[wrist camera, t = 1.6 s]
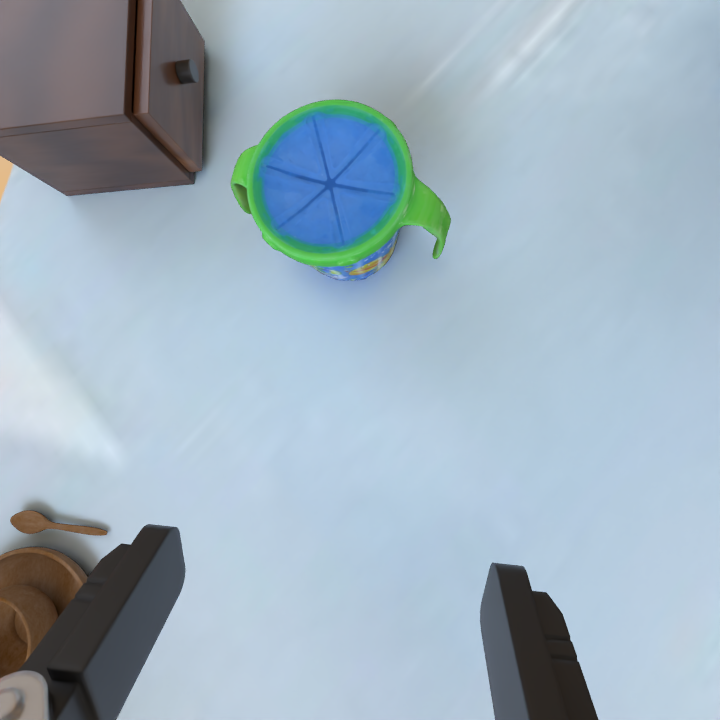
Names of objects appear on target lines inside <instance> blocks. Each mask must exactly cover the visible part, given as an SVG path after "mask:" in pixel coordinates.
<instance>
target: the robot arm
mask: <svg viewBox="0 0 720 720" xmlns="http://www.w3.org/2000/svg"><path fill="white" fill-rule="evenodd" d="M184 578H185V563H184V557H183V551H182V544H181V538H180V532H179V529H178V528H177V527H170V526H161V525H152V524H148V525H146V526H144V527H143V528H142V530H141V531H140V532H139V534H138V535H137V537H136V538H135V540H134V541H133V542H132V544H131V545H129V544H120V545H119V546H118V547H117V548H115V549H114V550H113V551H111V552H110V553H109V554H108V555H106V556H105V557H104V558H102V559H101V560H100V562H99V563H98V564H97V566H96V567H95V569H94V570H93V571H92V573H91V574H90V575H89V577H88V578H87V581H86V583H83V585H82V586H81V587H80V589H79V590H78V592H77V593H76V594H75V598H74V599H72V600H71V601H70V602H69V604H68V605H67V606H66V608H65V609H64V610H63V612H62V613H61V615H60V616H59V617H58V619H57V620H56V621H55V623H54V624H53V625H52V627H51V628H50V629H49V631H48V632H47V633H46V635H45V636H44V638H43V639H42V640H41V642H40V643H39V644H38V646H37V647H36V648H35V650H34V651H33V652H32V654H31V655H30V656H29V658H28V659H27V660H26V662H25V663H24V664H23V665H22V667H21V668H20V669H19V670H18V671H17V672H14V673H11V674H9V675H6V676H4V677H2V678H0V720H116V719H117V717H118V715H119V713H120V711H121V709H122V707H123V705H124V703H125V701H126V699H127V697H128V695H129V693H130V691H131V689H132V687H133V685H134V683H135V681H136V679H137V677H138V675H139V673H140V671H141V669H142V668H143V666H144V664H145V662H146V660H147V658H148V656H149V654H150V652H151V650H152V648H153V646H154V644H155V642H156V640H157V638H158V636H159V634H160V632H161V630H162V628H163V626H164V624H165V622H166V620H167V618H168V616H169V614H170V612H171V610H172V608H173V606H174V604H175V602H176V600H177V598H178V596H179V594H180V592H181V589H182V586H183V583H184ZM480 623H481V633H482V639H483V645H484V652H485V658H486V664H487V671H488V677H489V683H490V690H491V696H492V702H493V708H494V715H495V720H598V717H597V714H596V711H595V708H594V706H593V703H592V700H591V697H590V694H589V691H588V688H587V685H586V682H585V679H584V676H583V673H582V670H581V667H580V664H579V662H577V655H576V652H575V649H574V647H573V644H572V642H571V641H570V635H569V632H568V629H567V626H566V623H565V620H564V617H563V614H562V613H561V611H560V610H559V608H558V607H557V606H556V604H555V603H554V602H553V600H552V599H551V598H550V596H549V595H548V594H547V593H546V592H537V591H532V589H531V586H530V582H529V579H528V575H527V572H526V570H525V568H524V567H523V566H518V565H508V564H499V563H492V564H491V566H490V569H489V573H488V578H487V582H486V586H485V590H484V594H483V598H482V602H481V611H480Z"/></svg>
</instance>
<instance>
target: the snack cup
mask: <svg viewBox="0 0 720 720" xmlns="http://www.w3.org/2000/svg"><path fill="white" fill-rule="evenodd" d="M231 188H232V190H233V193H234V195H235V198H236V199H237V201H238V203H239V205H240V207H241V208H242V209H243V210H244V211H245V212H246V213H248V214H252V216H253V218H254V220H255V222H256V224H257V225H258V227H259V228H260V230H261V231H262V237H263V239H264V240H265V241H266V242H267V243H268V244H269V245H270V246H271V247H272V248H273V249H275V250H278V251H280V252H282V253H283V254H285V255H287V256H288V257H290V258H292V259H294V260H296V261H298V262H301V263H304V264H307V265H310V266H311V267H313V268H315V269H316V270H318V271H319V272H321V273H322V274H324V275H327V276H329V277H331V278H334V279H337V280H361V279H366V278H367V277H368V276H370V275H372V274H374V273H375V272H377V271H378V270H379V269H381V268H382V267H383V266H384V265H385V264H386V263H387V261H388V260H389V258H390V257H391V255H392V253H393V251H394V247H395V245H396V241H397V237H398V234H399V230H400V228H401V227H402V226H405V225H417V226H422V227H423V228H425V229H426V230H427V231H428V232H429V233H431V234H432V235H434V236H435V237H436V238H437V240H436V243H435V247H434V250H433V258H434V259H437V258H438V257H439V256H440V254H441V253H442V250H443V248H444V245H445V239H446V236H447V232H448V229H449V226H450V222H451V218H450V215H449V213H448V211H447V209H446V207H445V206H444V204H443V202H442V201H441V200H440V199H439V198H438V197H437V195H436V194H435V193H434V192H432V191H431V190H430V188H429V187H427V186H426V185H424V184H423V183H422V182H421V181H419V180H418V178H416V176H415V174H414V172H413V165H412V159H411V155H410V152H409V149H408V146H407V143H406V140H405V139H404V137H403V136H402V134H401V133H400V131H399V130H398V129H397V127H396V125H395V124H394V123H393V122H392V121H391V120H390V119H388V118H387V117H385V116H384V115H383V114H381V113H380V112H378V111H376V110H375V109H373V108H371V107H368V106H366V105H364V104H361V103H359V102H354V101H347V100H324V101H319V102H314V103H311V104H308V105H305V106H303V107H300V108H298V109H296V110H294V111H292V112H290V113H289V114H287V115H286V116H284V117H283V118H281V119H280V120H279V121H278V122H277V123H275V124H274V125H273V126H272V127H271V128H270V130H269V131H268V132H267V133H266V134H265V135H264V137H263V138H262V140H261V141H260V143H259V144H258V145H256V146H253V147H251V148H249V149H247V150H245V151H244V152H243V153H242V154H241V155H240V157H239V159H238V161H237V163H236V165H235V169H234V172H233V175H232V179H231Z"/></svg>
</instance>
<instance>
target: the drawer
mask: <svg viewBox="0 0 720 720" xmlns="http://www.w3.org/2000/svg"><path fill="white" fill-rule="evenodd" d="M204 49H205V41H204V40H203V38H202V36H201V35H200V33H199V31H198V29H197V28H196V26H195V24H194V23H193V21H192V19H191V18H190V16H189V14H188V13H187V11H186V9H185V8H184V6H183V4H182V2H181V1H180V0H136V11H135V36H134V60H133V84H132V108H131V112H133V115H134V116H135V117H136V118H137V119H138V120H139V121H140V122H141V123H142V124H143V125H144V126H145V127H146V128H147V129H148V130H149V131H150V133H151V134H152V135H153V136H154V137H155V138H156V139H157V140H158V141H159V142H160V143H161V144H162V145H163V146H164V147H165V148H166V149H167V150H168V151H169V152H170V153H171V154H172V155H173V156H174V157H175V158H176V159H177V160H178V161H179V162H180V163H181V164H182V165H183V166H184V167H185V168H186V169H187V170H188V171H189V172H196V171H202V143H203V96H204Z"/></svg>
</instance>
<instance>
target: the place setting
mask: <svg viewBox="0 0 720 720" xmlns="http://www.w3.org/2000/svg"><path fill="white" fill-rule="evenodd" d="M10 522H11V524H12V525H13V526H14V527H15V528H16V529H18V530H19V531H21V532H23V533H27V534H33V533H38V532H41V531H43V530H45V529H59V530H65V531H70V532H76V533H82V534H88V535H107V531H105V530H102V529H99V528H94V527H87V526H78V525H68V524H60V523H54V522H51V521H49V520H48V519H47V518H46V517H45V516H44V515H42V514H40V513H38V512H36V511H31V510H27V511H22V512H19V513H17V514H15V515H14V516H12V517H11V520H10ZM87 578H88V577H87V575H86V574H85V573H84V571H83V570H82V569H81V568H80V566H79V565H78V564H77V563H76V562H74V561H73V560H72V559H71V558H69V557H68V556H66V555H64V554H63V553H60V552H58V551H56V550H53V549H49V548H43V547H26V548H21V549H16V550H13V551H10V552H7V553H5V554H3V555H1V556H0V678H2V677H4V676H6V675H9V674H11V673H14V672H17V671H18V670H19V669H20V668H21V667H22V665H23V664H24V663H25V662H26V660H27V659H28V658H29V656H30V655H31V654H32V652H33V651H34V650H35V648H36V647H37V646H38V644H39V643H40V642H41V640H42V639H43V638H44V636H45V635H46V633H47V632H48V631H49V629H50V628H51V627H52V625H53V624H54V623H55V621H56V620H57V619H58V617H59V616H60V615H61V613H62V612H63V610H64V609H65V608H66V606H67V605H68V604H69V602H70V601H71V600H72V599H74V598H75V594H76V593H77V592H78V590H79V589H80V587H81V586H82V585H83V583H86V581H87Z"/></svg>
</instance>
